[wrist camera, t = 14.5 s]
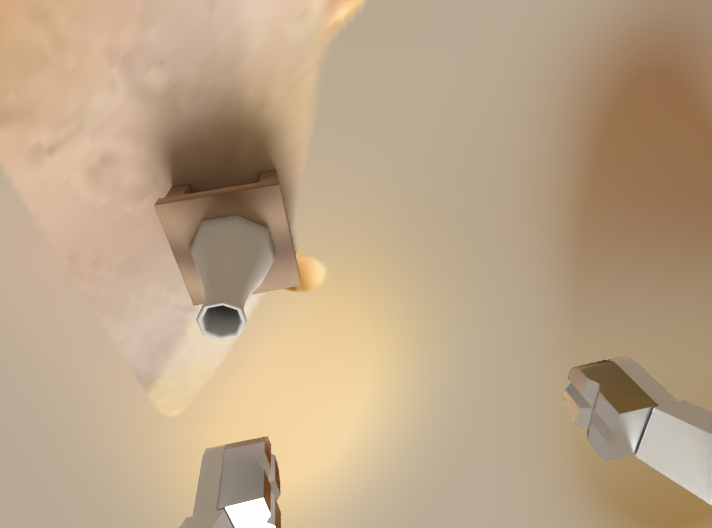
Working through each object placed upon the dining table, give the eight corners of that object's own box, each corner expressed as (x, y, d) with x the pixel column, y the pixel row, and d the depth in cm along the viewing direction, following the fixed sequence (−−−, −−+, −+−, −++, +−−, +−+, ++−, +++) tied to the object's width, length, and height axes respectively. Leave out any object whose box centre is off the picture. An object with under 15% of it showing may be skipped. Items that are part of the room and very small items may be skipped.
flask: (190, 208, 34) (162, 270, 25) (280, 218, 35) (282, 280, 27) (189, 283, 37) (163, 360, 28) (271, 289, 39) (270, 364, 30)
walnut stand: (167, 184, 37) (154, 205, 33) (278, 166, 38) (278, 184, 34) (201, 277, 42) (193, 305, 38) (298, 259, 43) (301, 285, 39)
